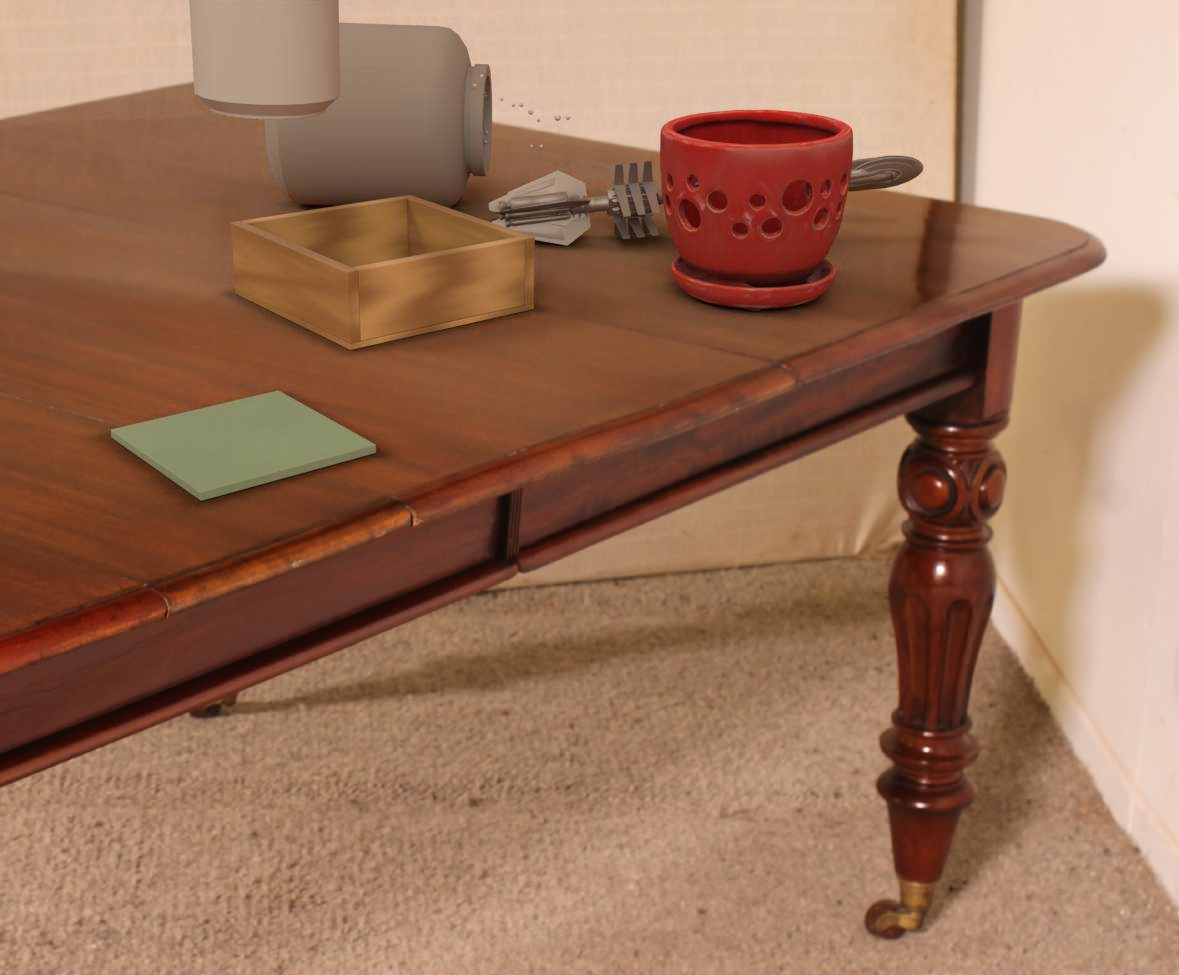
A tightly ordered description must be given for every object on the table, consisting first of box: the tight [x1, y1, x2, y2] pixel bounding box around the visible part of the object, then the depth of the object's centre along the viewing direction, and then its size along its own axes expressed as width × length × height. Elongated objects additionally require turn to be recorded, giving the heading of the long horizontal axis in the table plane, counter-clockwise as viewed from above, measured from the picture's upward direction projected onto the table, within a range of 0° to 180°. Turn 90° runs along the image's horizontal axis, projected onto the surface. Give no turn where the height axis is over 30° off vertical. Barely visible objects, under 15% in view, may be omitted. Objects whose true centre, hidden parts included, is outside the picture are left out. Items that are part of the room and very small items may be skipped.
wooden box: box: [230, 195, 536, 351], centre depth 101 cm, size 15×15×5 cm
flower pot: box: [659, 109, 854, 312], centre depth 104 cm, size 13×13×12 cm
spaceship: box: [488, 155, 924, 247], centre depth 118 cm, size 8×35×8 cm
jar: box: [263, 22, 571, 208], centre depth 124 cm, size 19×15×25 cm
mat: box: [110, 390, 377, 502], centre depth 78 cm, size 10×10×1 cm
